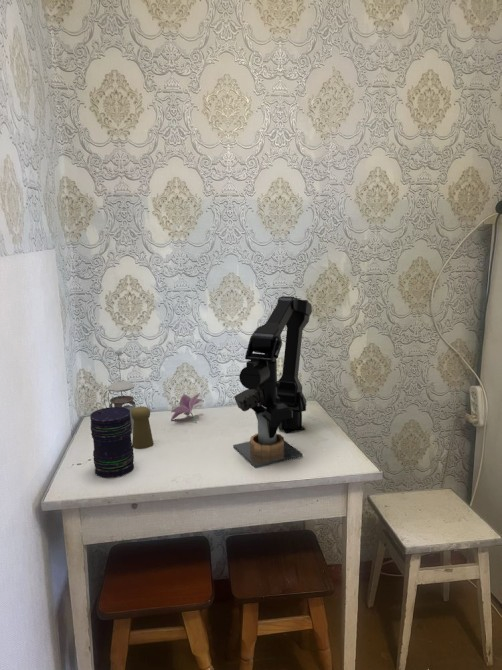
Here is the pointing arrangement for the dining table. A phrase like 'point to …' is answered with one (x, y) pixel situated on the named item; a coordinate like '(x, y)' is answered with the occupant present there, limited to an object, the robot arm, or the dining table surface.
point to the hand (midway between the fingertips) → (267, 434)
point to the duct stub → (264, 431)
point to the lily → (186, 406)
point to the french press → (121, 400)
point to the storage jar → (112, 442)
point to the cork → (141, 428)
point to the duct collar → (267, 451)
